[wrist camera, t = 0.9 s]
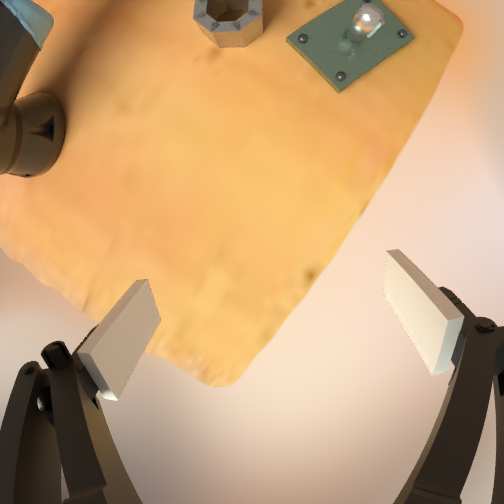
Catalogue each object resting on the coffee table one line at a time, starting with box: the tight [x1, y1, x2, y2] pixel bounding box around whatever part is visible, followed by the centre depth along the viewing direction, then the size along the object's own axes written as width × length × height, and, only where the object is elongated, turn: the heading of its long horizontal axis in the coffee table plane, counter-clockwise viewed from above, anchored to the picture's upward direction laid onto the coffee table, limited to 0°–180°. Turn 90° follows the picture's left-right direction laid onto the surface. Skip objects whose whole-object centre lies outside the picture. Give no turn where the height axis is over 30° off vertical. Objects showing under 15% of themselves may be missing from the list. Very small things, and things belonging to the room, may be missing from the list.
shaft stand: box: [286, 0, 415, 93], centre depth 25 cm, size 10×16×9 cm, turn 133°
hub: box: [193, 0, 264, 48], centre depth 27 cm, size 8×8×6 cm
